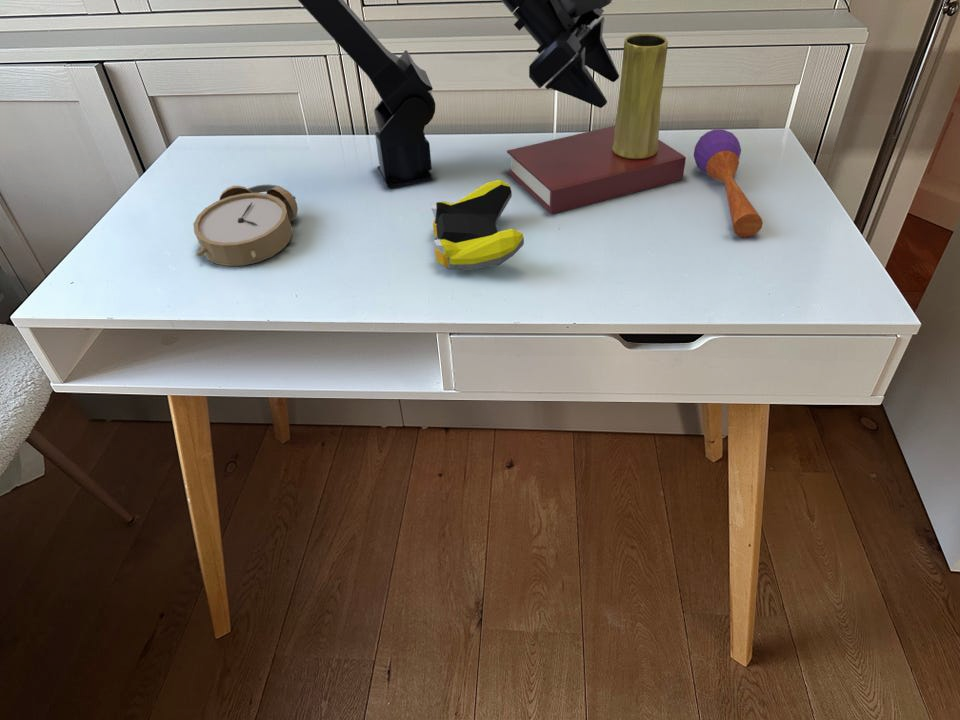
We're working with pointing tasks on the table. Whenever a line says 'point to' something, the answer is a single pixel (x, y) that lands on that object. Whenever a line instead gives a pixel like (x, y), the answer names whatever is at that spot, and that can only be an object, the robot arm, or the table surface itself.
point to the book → (589, 170)
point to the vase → (640, 96)
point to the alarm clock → (246, 225)
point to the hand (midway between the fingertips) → (610, 92)
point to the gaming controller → (475, 229)
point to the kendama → (727, 177)
